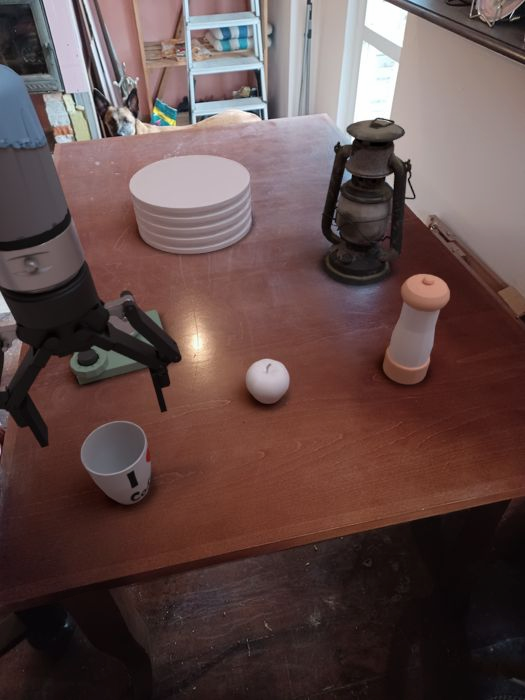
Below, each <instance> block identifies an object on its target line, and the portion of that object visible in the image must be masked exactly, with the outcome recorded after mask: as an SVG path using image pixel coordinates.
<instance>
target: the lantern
mask: <svg viewBox="0 0 525 700" xmlns="http://www.w3.org/2000/svg"><path fill="white" fill-rule="evenodd" d="M345 131H346V133H347V134H348V136H350V137H352V138H354V139H353V140H352V141H351V143H349V144H343V145H341V141H337V142H336V144H335V145H334V146H333V152H334V154H335V155H334V159H333V164H332V169H331V174H330V179H329V183H328V188H327V193H326V197H325V203H324V207H323V211H322V213H321V222H320V223H321V224H320V228H321V232H322V235H323V236H324V238H325V239H326V240H327V241H328V242H329V243H331V244H332V245H331V246H330V247H329V249H328V253H327V254H326V256H325V258H324V260H323V262H322V265H323V270H324V272H325V274H327V276H329V278H331V279H333V280H334V281H337V282H338V283H341V284H345V285H348V286H355V287H356V286H357V287H358V286H359V287H363V286H371V285H376V284H378V283H380V282H382V281H384V280H385V279H386V278H387V277H388V276H389V273H390V271H391V270H390V264H389V263H390V262H394V261H396V260H397V259H398V258H399V257H400V255H401V253H402V245H403V233H404V222H405V221H404V220H405V219H404V218H405V206H406V200H416V198H417V197H416V193H415V190H414V188H413V186H412V185H413V184H412V183H411V178H412V171H411V170H412V166H413V164H411V158H408V159H407V161H404V160H403V159H401V158H400V157H399V156H397V155H396V154H395V146H396V145H395V143H394V141H397V140H399V139H401V138H403V137H404V136H405V134H406V131H405V129H404V128H403V127H402V126H401V125H398V124H397V123H396V122H395V121H394V120H392V119H389V118H384V117H376V118H374V119H364V120H360V121H356V122H353V123H351V124H349V125H347V127H346V129H345ZM345 171H346V172H347V173H349V174H350V175H351V177H350V179H348V180H346V181H345V182H344V183H343V180H344V175H345ZM408 174H409V176H408ZM391 175H393V185H392V186H391V185H390V184H389V183H388V182H387V181H386V179H387V177H390V176H391ZM407 183H408V185H409V188H410V190H411V193H412V195H413V197H409V196H406V194H407ZM333 222H334V223H335V224H333ZM332 226H333V227H336V232H338V234H336V233H335V232H334V231H333V229H332ZM389 226H390V234H389V235H386V232H387V230H388V229H389ZM386 239H389V249H387V250H386V249H385V248H384V247H383V246H382V245H381V244H379V243H380V242H384V241H385V240H386Z"/></svg>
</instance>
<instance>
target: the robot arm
mask: <svg viewBox="0 0 525 700" xmlns="http://www.w3.org/2000/svg"><path fill="white" fill-rule="evenodd" d="M50 148H51V147H50V146H49V143H48V138H47V136H46V134H45V131H44V129H43V127H42V123H41V121H40V119H39V116H38V113H37V110H36V108H35V105H34V103H33V100H32V98H31V95H30V92H29V90H28V87H27V84H26V82H25V81H24V80H23V78H22V77H21V76H20V75H19V73H17V72H15V71H14V70H13V69H12V68H10V67H9V66H7V65H4V64H1V63H0V294H1V296H2V298H3V300H4V302H5V304H6V306H7V307H8V310H9V311H10V314H11V315H12V318H13V319H14V321H15V323H14V324H8V325H0V386H1V385H2V380H3V379H2V378H3V371H4V365H5V353H6V352H8V351H9V349H11V348H12V346H13V341H15V340H17V339H18V340H19V341H20V342H22V343H24V344H26V345H28V346H29V347H28V350H27V351H26V353H25V355H24V357H22V360H21V362H20V364H19V366H18V368H17V369H16V371H15V373H14V374H13V376H12V378H11V379H10V382H9V384H8V385H5V387H4V390H0V410H4V411H6V412H8V413H9V415H10V416H11V418H12V420H13V421H14V422H15V425H16V426H17V427H19V428H20V429H23V428H27V427H28V428H29V429H30V431H31V433H32V434H33V437H34V438H35V439H36V441H37V442H38V444H39V447H41V449H42V448H47V447H49V446H50V442H49V427H48V425H47V424H46V422H45V420H44V419H43V416H42V415H41V413H40V411H39V410H38V408H37V405H36V404H35V402H34V401H33V399H32V397H31V395H30V393H29V391H30V389H31V387H32V386H33V384H34V383H35V381H36V380H37V377H38V376H39V374H40V372H41V371H42V369H45V368H46V366H47V365H48V362H49V361H50V359H51V357H52V356H54V357H58V359H60V358H66V357H68V356H70V355H73V354H74V353H75V352H85V351H89V350H91V347H93V346H96V347H98V348H101V349H103V350H105V351H110V350H112V351H114V352H116V353H119V354H121V355H123V356H125V357H127V358H130V359H132V360H134V361H136V362H139V363H141V364H143V365H145V366H148V367H147V368H148V370H149V375H150V378H151V382H152V385H153V388H154V392H155V396H156V400H157V403H158V407H159V410H160V414H163V413H165V412H168V407H167V405H166V400H165V396H164V392H163V389H164V388H168V387H170V386H171V379H170V374H169V369H168V366H169V365H170V364H172V363H173V364H178V363H180V362H181V361H182V358H183V357H182V354H181V352H180V349H179V345H178V343H177V342H176V340H175V339H173V338H172V337H171V336H170V335H169V334H168V333H167V332H166V331H165V330H164V328H163V329H162V328H160V327H159V326H158V325H157V324H156V323H155V322H154V321H153V320H152V319H151V318H150V317H149V316H148V315H147V314H146V313H144V312H145V311H143V310H142V309H141V307H139V306H138V304H137V301H136V299H135V297H134V294H133V292H132V291H130V290H122V291H121V292H120V295H119V298H116V299H114V300H110V301H107V302H105V301H104V300H102V299H101V298H100V296H99V293H98V290H97V287H96V285H95V282H94V279H93V276H92V273H91V269H90V266H89V264H88V262H87V260H85V257H86V254H85V251H84V248H83V246H82V243H81V240H80V237H79V233H78V230H77V226H76V224H75V221H74V218H73V215H72V214H71V211H70V209H69V205H68V203H67V198H66V196H65V192H64V188H63V186H62V183H61V180H60V177H59V174H58V170H57V168H56V167H57V166H56V165H55V161H54V158H53V155H52V152H51V149H50ZM110 316H117V317H118V318H119V319H121V320H122V321H123V322H127V321H129V323H130V325H131V326H132V327H133V328H134V329H135V330H136V331H137V332H138V333H139V334H140V335H142V336H143V337H144V338H145V339H146V340H147V341H148V342H150V343H151V344H152V345H153V346H152V345H150V344H148V343H146V342H144V341H142V340H140V339H138V338H136V337H133V336H131V335H129V334H127V333H125V332H123V331H121V330H119V329H117V328H115V327H114V326H113V324H111V323H110V322H108V321H109V318H110Z"/></svg>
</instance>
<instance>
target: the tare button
mask: <svg viewBox="0 0 525 700" xmlns="http://www.w3.org/2000/svg"><path fill="white" fill-rule="evenodd" d="M77 358H78V360H79V363H80V364H81V365H82V366H84V367H88V366H92V365H94V364H95V363H96V362H97V360H98V357H97V354H96V351H95V350H94V349H92V348H91V350H89V351H85V352H79V353H78V355H77Z"/></svg>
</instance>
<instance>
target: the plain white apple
mask: <svg viewBox="0 0 525 700" xmlns="http://www.w3.org/2000/svg"><path fill="white" fill-rule="evenodd" d="M290 381H291V380H290V374H289V370H288V369H287V368H286V366H285V364H283V363H282V362H281V361H278V360H275V359H271V358H262V359H259V360H257V361H255V362H253V363H252V364H251V365H250V366H249V368H248V370H247V371H246V374H245V385H246V388H247V390H248V392H249V393H250V394H251V396H253V398H254V399H255V400H257V401H258V402H260V403H261V404H266V405H271V404H275V403H277V402H278V401H280V400H281V399H282V397H283V396H284V395H285V394H286V393H287V391H288V389H289V387H290Z"/></svg>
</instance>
